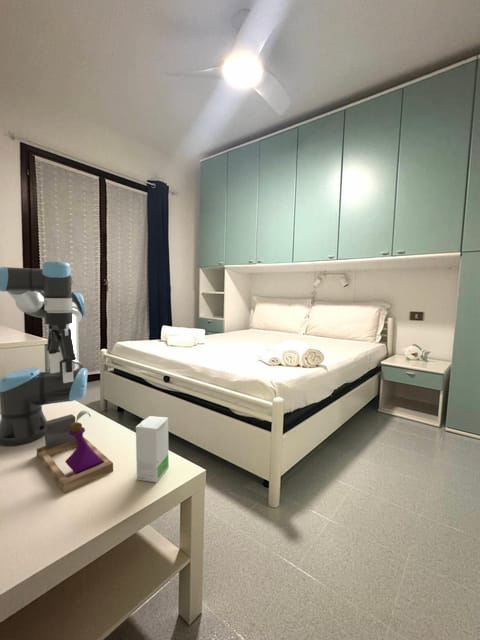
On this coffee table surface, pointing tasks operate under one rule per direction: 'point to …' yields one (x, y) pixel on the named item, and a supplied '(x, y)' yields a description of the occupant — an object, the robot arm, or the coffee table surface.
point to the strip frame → (60, 442)
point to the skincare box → (152, 448)
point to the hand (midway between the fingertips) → (61, 377)
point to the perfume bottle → (81, 449)
